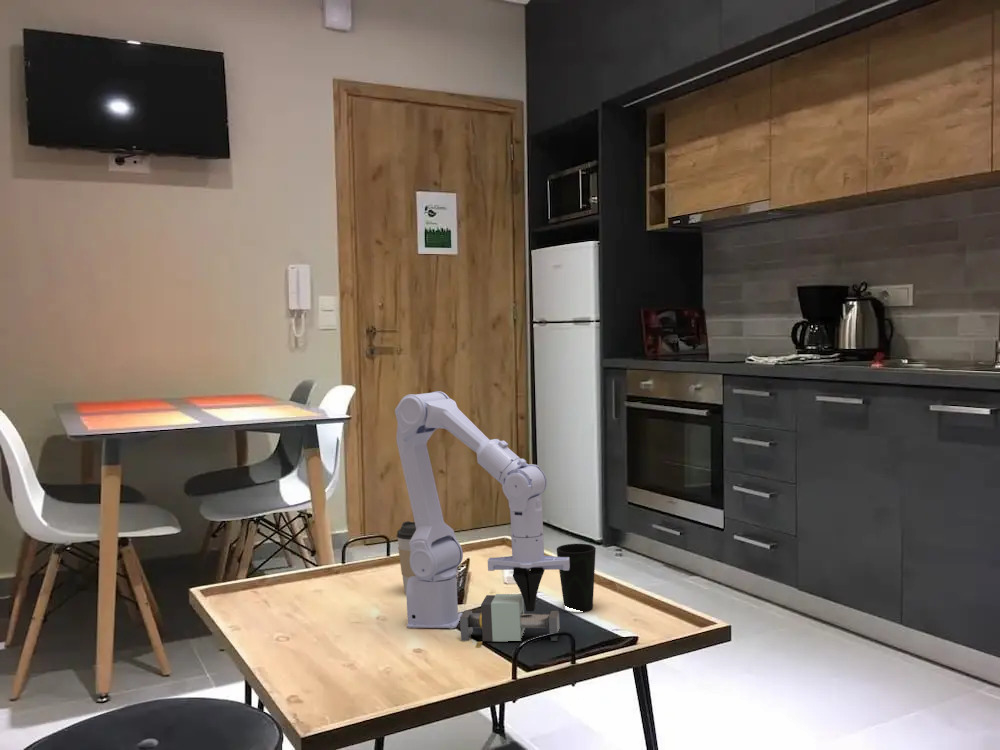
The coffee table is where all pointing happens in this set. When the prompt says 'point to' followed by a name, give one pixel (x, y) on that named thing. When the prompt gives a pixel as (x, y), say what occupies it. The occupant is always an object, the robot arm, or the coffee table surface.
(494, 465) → the robot arm
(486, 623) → the dark grey flat block
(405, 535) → the coffee cup
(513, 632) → the sleeve
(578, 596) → the cup
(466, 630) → the grey shaft
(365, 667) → the coffee table surface
